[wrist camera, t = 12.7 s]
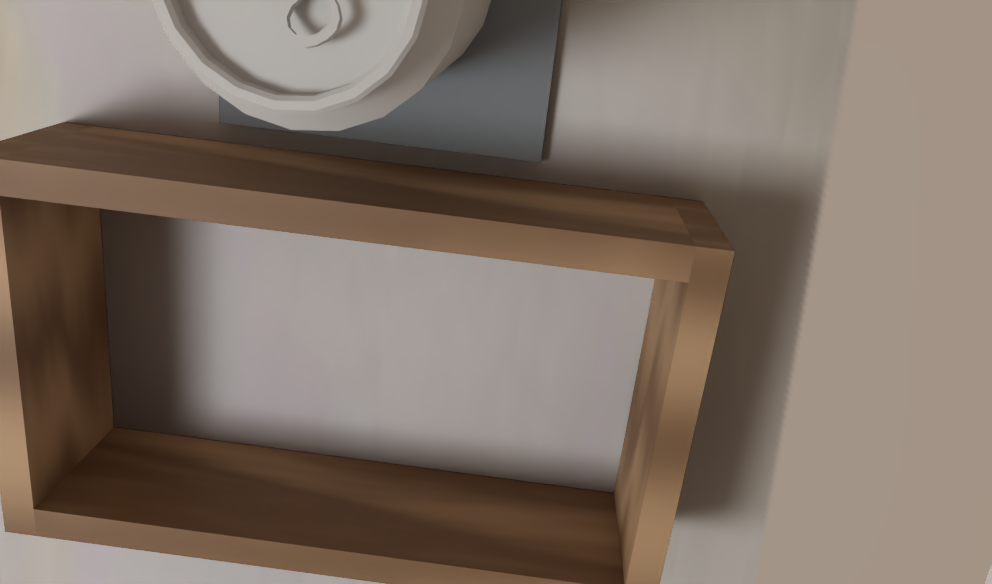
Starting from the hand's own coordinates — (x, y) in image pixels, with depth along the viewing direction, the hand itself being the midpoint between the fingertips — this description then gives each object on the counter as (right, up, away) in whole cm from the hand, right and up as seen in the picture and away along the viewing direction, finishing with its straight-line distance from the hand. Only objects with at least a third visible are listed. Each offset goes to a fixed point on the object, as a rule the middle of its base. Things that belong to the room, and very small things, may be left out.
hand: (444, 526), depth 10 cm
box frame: (-5, +1, +24) cm, 24 cm away
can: (-3, +14, +19) cm, 24 cm away
